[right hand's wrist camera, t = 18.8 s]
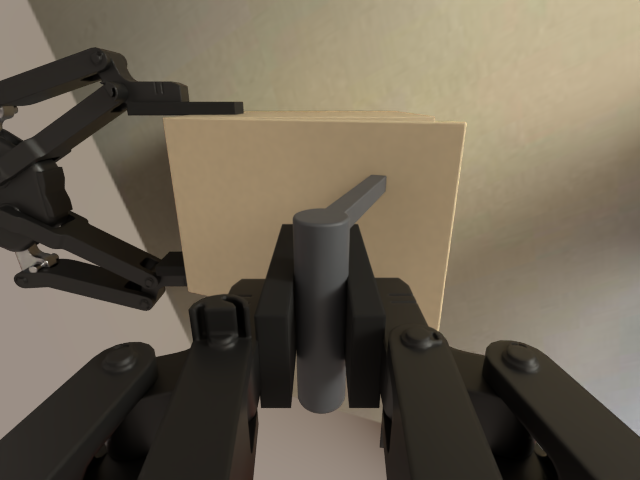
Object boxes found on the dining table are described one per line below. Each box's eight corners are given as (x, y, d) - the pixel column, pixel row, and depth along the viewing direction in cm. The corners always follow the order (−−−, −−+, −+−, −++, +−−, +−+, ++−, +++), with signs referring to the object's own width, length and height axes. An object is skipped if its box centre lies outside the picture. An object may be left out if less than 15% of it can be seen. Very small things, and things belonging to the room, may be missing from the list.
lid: (467, 121, 14) (461, 143, 7) (437, 337, 18) (414, 498, 11) (173, 116, 19) (-8, 126, 12) (196, 286, 23) (68, 372, 16)
